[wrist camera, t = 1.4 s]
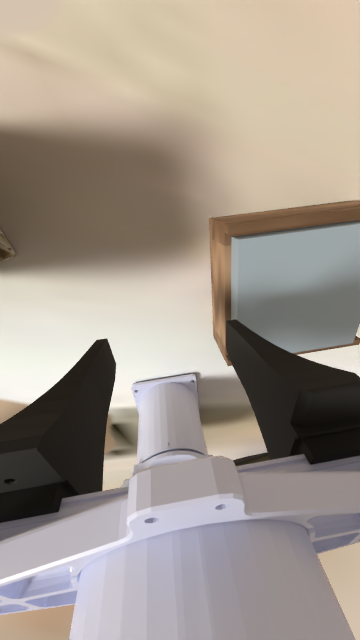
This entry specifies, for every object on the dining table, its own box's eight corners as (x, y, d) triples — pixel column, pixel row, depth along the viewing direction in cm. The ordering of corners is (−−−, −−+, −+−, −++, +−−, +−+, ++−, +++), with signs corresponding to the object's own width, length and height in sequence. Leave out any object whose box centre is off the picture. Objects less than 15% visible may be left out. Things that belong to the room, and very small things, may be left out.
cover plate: (340, 334, 21) (352, 343, 20) (230, 352, 21) (236, 362, 19) (374, 217, 16) (394, 219, 15) (231, 236, 16) (238, 239, 14)
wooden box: (321, 319, 26) (358, 345, 21) (213, 336, 25) (227, 366, 21) (349, 200, 20) (410, 200, 15) (209, 218, 19) (228, 223, 15)
